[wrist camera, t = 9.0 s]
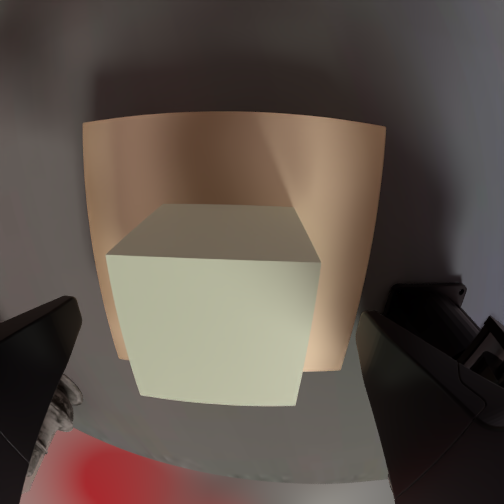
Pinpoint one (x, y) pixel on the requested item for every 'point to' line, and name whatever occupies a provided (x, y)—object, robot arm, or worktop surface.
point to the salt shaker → (56, 418)
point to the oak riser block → (245, 193)
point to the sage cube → (216, 302)
